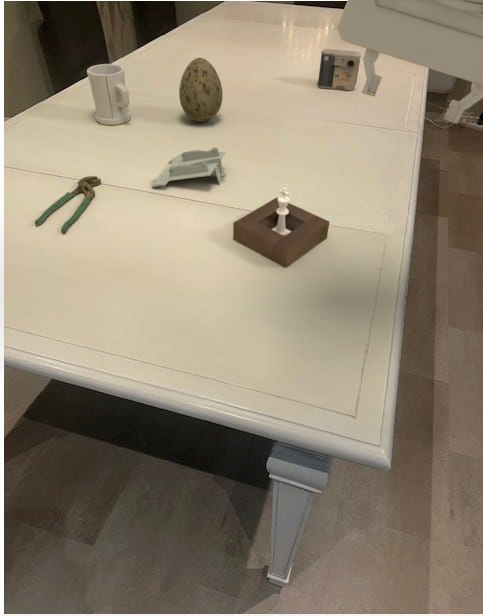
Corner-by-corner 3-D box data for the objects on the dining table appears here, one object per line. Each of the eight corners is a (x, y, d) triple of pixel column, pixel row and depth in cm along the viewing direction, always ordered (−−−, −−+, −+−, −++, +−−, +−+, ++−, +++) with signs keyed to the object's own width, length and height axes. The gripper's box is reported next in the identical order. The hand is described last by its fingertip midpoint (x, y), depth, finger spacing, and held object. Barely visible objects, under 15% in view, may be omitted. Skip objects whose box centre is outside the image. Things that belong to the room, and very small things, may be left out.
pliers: (65, 235, 86) (63, 229, 85) (32, 229, 87) (30, 223, 86) (113, 183, 100) (112, 177, 99) (84, 178, 101) (83, 172, 100)
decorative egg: (204, 132, 119) (202, 67, 109) (172, 121, 124) (167, 58, 114) (231, 119, 126) (231, 57, 115) (199, 109, 130) (197, 48, 120)
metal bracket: (230, 138, 103) (207, 170, 92) (236, 164, 106) (216, 197, 96) (171, 148, 108) (143, 178, 97) (179, 172, 112) (154, 204, 101)
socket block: (326, 238, 87) (329, 221, 84) (286, 267, 80) (287, 250, 78) (275, 213, 93) (276, 197, 90) (233, 239, 86) (233, 222, 84)
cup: (140, 113, 127) (135, 65, 119) (131, 127, 121) (124, 77, 112) (102, 111, 128) (93, 62, 120) (90, 125, 121) (81, 74, 113)
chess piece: (281, 249, 84) (286, 199, 77) (260, 238, 86) (263, 188, 79) (299, 238, 87) (305, 188, 80) (278, 227, 89) (282, 178, 82)
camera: (315, 88, 145) (320, 51, 138) (319, 82, 149) (323, 46, 142) (353, 92, 142) (360, 55, 136) (356, 86, 146) (362, 50, 140)
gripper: (359, -69, 43) (314, 87, 53) (591, -2, 40) (498, 147, 50) (370, -77, 47) (327, 68, 57) (580, -17, 45) (497, 124, 55)
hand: (409, 106), depth 54 cm, fingers open, 8 cm apart
